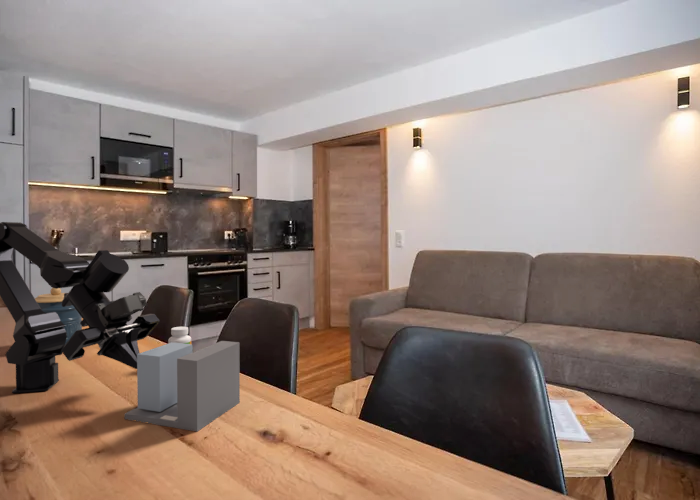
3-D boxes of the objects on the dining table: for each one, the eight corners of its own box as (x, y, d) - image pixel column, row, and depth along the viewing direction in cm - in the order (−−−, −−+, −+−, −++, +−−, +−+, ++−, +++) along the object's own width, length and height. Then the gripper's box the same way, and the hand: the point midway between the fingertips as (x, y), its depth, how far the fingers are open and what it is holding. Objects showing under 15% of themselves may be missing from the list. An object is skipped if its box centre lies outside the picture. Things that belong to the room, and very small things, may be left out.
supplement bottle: (183, 370, 103) (183, 331, 103) (163, 369, 104) (163, 329, 104) (195, 364, 109) (195, 326, 108) (176, 362, 110) (176, 325, 109)
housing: (124, 419, 76) (123, 352, 76) (174, 393, 88) (174, 336, 88) (197, 431, 71) (196, 360, 71) (239, 402, 84) (239, 342, 83)
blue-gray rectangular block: (137, 408, 78) (137, 354, 77) (172, 391, 86) (171, 342, 86) (160, 411, 76) (159, 356, 76) (192, 394, 85) (192, 344, 84)
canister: (83, 348, 123) (82, 287, 122) (27, 355, 116) (26, 290, 115) (81, 339, 134) (81, 283, 133) (30, 344, 126) (29, 285, 126)
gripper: (73, 286, 75) (124, 353, 72) (152, 276, 93) (195, 330, 90) (41, 327, 78) (89, 393, 75) (124, 310, 95) (165, 363, 92)
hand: (139, 367), depth 83 cm, fingers closed
